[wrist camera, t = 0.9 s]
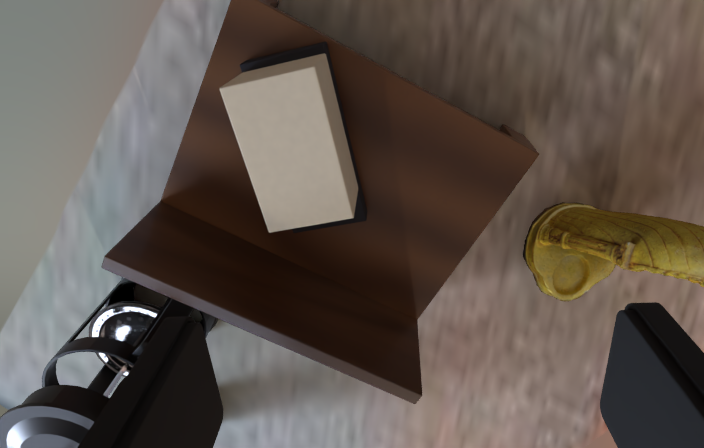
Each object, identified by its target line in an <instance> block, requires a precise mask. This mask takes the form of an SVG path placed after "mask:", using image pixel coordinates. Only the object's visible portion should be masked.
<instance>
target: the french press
mask: <svg viewBox="0 0 704 448" xmlns="http://www.w3.org/2000/svg"><path fill="white" fill-rule="evenodd" d="M135 284H136V283H135V282H133V281H131V280H128V279H126V278H124V277H122V279H121V281H120V282H119V283H118V285H117V286H116V287H115V288H114V289H113V290H112V291H111V292H110V294H109V295H108V296H107V297H106V298H105V299H104V300H103V302H102V303H101V304H100V305H99V306H98V307H97V308H96V309H95V311H94V312H93V313H92V314H91V315H90V316H89V317H88V319H87V320H86V321H85V322H84V323H83V324H82V325H81V326H80V328H79V329H78V330H77V331H76V332H75V333H74V334H73V336H72V337H71V338H70V339H69V340H68V341H67V342H66V344H65V345H64V346H63V347H62V348H61V349H60V350H59V351H58V353H57V354H56V355H55V356H54V357H53V358H52V359H51V361H50V362H49V363H48V364H47V366H46V367H45V369H44V372H43V376H42V387H43V388H41V389H39V390H37V391H35V392H33V393H32V394H31V395H30V396H28V398H27V399H26V400H25V401H24V402H23V403H22V405H19V406H16V407H14V408H12V409H10V410H8V411H7V412H6V413H5V414H3V415H2V416H1V417H0V448H78V446H79V444H80V443H81V441H82V440H83V438H84V437H85V435H86V434H87V432H88V431H89V429H90V428H91V426H92V425H93V423H94V422H95V420H96V419H97V417H98V416H99V414H100V413H101V411H102V410H103V408H104V407H105V405H106V404H107V402H108V401H109V399H110V398H108V396H109V395H110V393H111V392H112V390H113V389H114V387H115V386H116V384H117V383H118V381H119V380H120V378H121V377H122V376H124V377H126V376H127V375H128V373H129V372H130V370H131V369H132V367H133V366H134V364H135V363H136V361H137V360H138V358H139V356H140V355H141V353H142V352H143V350H144V349H145V347H146V346H147V344H148V343H149V341H150V340H151V338H152V337H153V335H154V334H155V332H156V330H157V329H158V327H159V326H160V324H161V323H162V321H163V320H164V319H165V318H167V317H186V316H190V314H191V312H192V311H193V309H194V308H193V307H190V306H188V305H186V304H183V303H181V302H179V301H177V300H174V299H172V298H170V297H169V298H168V300H167V301H166V303H165V304H164V305H163V307H162V308H160V307H158V306H155V305H152V304H149V303H145V302H138V301H135V300H134V294H133V292H134V286H135ZM105 304H106V307H105V308H104V309H102V310H101V311H100V309H101V308H102V307H103V306H104V305H105ZM199 311H200V310H199ZM200 313H201V315H202V318H203V319H202V320H201V322H200V324H201V325H202V328H203V331H204V335H205V339H206V337H207V335H208V333H209V332H210V331H211V329H212V328H213V327H214V326H215V324H216V322H217V320H218V318H216V317H213V316H211V315H209V314H206V313H204V312H202V311H200ZM93 317H94V318H93ZM91 320H92V321H91ZM90 321H91V324H90V327H89V337H85V338H81V339H76V340H74V339H75V338H76V337H77V336H78V335H79V334H80V332H81V331H82V330H83V329H84V328H85V327H86V326H87V324H88V323H89V322H90ZM75 352H95V353H96V354H97V356H98V357H99V359H100V360H101V361H102V362H103V363H104V364H105V365H104V366H103V368H102V369H101V370H100V372H99V373H98V374H97V376H96V377H95V378H94V380H93V381H92V383H91V384H90V385H89V387H88V388H87V389H86V388H82V387H78V386H70V385H59V383H58V380H57V376H56V363H57V359H58V358H60V357H62V356H64V355H66V354H70V353H75Z"/></svg>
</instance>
